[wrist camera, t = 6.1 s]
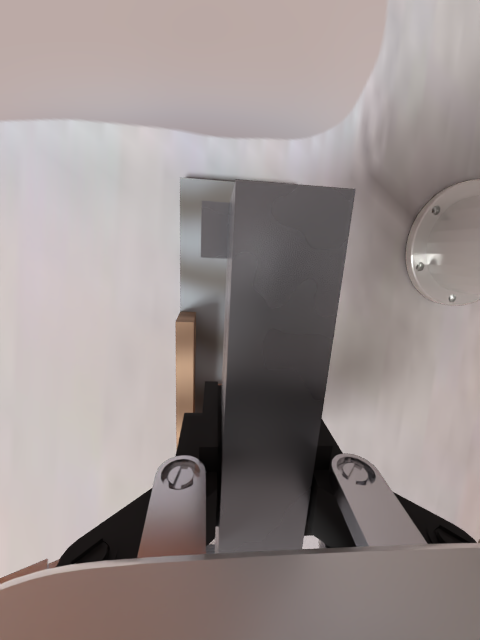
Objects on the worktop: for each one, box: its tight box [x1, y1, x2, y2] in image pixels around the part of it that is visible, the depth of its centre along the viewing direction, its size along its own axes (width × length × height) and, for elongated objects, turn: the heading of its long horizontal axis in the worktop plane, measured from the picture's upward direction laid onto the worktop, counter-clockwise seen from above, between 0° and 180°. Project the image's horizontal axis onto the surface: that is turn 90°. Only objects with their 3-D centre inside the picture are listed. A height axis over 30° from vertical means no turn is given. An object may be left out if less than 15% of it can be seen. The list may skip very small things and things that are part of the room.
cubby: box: [176, 177, 235, 447], centre depth 27 cm, size 30×10×5 cm, turn 177°
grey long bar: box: [201, 180, 355, 554], centre depth 12 cm, size 22×5×8 cm, turn 177°
